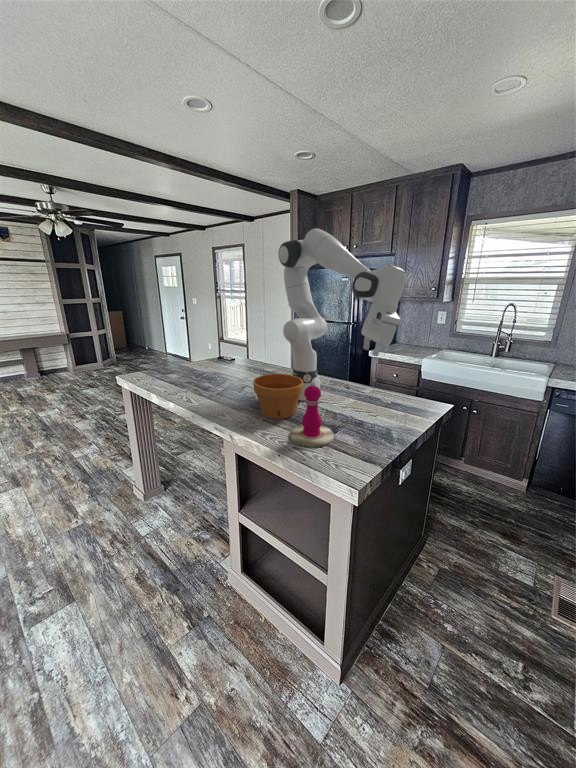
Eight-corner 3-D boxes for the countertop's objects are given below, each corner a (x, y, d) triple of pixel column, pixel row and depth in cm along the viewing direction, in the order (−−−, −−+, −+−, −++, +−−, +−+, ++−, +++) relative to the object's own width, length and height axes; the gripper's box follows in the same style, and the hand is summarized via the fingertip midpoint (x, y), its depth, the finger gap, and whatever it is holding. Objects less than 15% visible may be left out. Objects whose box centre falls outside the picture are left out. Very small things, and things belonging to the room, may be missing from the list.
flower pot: (308, 407, 147) (309, 376, 142) (293, 426, 128) (293, 391, 123) (266, 401, 153) (265, 371, 149) (246, 418, 135) (244, 385, 130)
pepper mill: (320, 428, 122) (321, 378, 116) (322, 437, 116) (324, 385, 109) (301, 429, 122) (301, 379, 116) (302, 438, 115) (303, 385, 109)
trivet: (287, 428, 126) (287, 425, 125) (327, 426, 128) (327, 423, 127) (293, 448, 111) (293, 445, 110) (338, 445, 113) (338, 442, 112)
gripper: (363, 309, 121) (353, 344, 125) (384, 316, 101) (371, 357, 106) (379, 312, 122) (368, 347, 126) (402, 320, 102) (389, 361, 107)
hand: (369, 352), depth 115 cm, fingers open, 8 cm apart
